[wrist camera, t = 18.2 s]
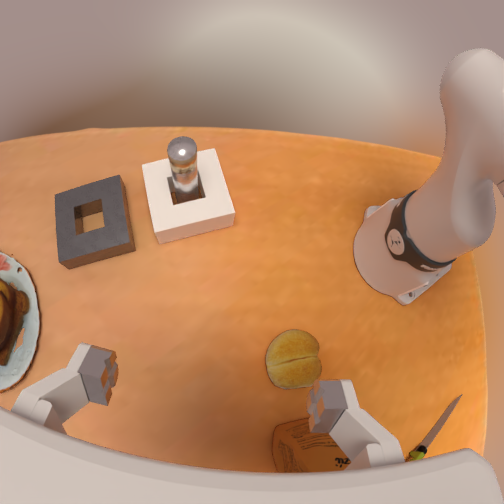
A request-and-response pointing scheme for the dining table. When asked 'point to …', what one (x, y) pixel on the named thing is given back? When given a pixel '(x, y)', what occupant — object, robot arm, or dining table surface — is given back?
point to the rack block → (193, 212)
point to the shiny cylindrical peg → (184, 168)
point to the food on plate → (16, 321)
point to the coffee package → (306, 450)
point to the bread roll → (293, 360)
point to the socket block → (100, 240)
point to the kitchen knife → (433, 432)
